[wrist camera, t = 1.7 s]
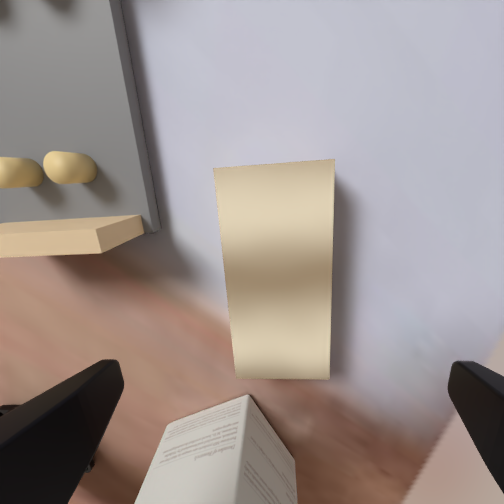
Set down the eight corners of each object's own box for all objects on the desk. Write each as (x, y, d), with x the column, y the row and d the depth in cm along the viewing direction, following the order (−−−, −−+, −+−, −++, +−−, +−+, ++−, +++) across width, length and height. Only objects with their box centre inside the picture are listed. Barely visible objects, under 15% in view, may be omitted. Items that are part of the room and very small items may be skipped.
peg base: (161, 228, 15) (113, 252, 10) (20, 236, 16) (-78, 260, 11) (94, -142, 10) (-39, -370, 6) (-97, -99, 11) (-331, -268, 7)
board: (319, 343, 16) (329, 379, 13) (242, 343, 17) (235, 378, 14) (321, 161, 13) (334, 158, 10) (226, 168, 14) (213, 168, 11)
